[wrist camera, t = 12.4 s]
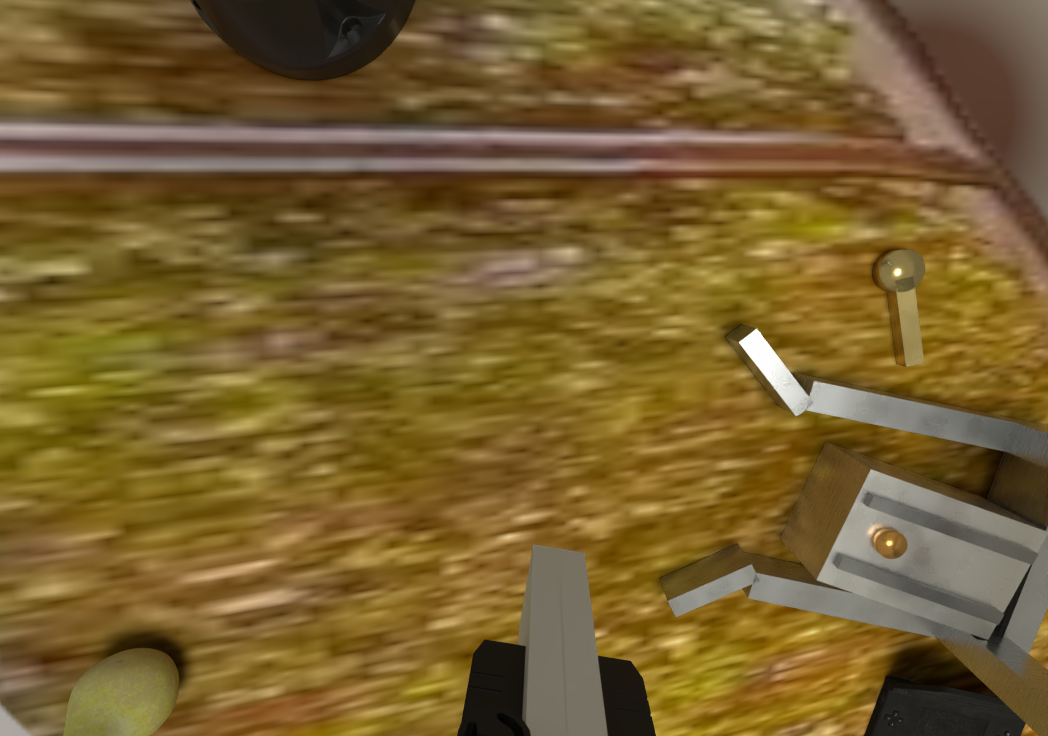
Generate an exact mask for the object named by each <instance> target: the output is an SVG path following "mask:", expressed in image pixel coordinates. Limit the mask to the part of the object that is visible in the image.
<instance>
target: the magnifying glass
mask: <svg viewBox="0 0 1048 736" xmlns="http://www.w3.org/2000/svg"><path fill="white" fill-rule="evenodd" d="M924 273H925V264H924V261H923V259H922V257H921V256H920V255H919V254H918V253H917V252H915V251H912V250H907V249H904V250H891V251H887V252H885V253H884V254H882V255H881V256H880V257H879V258H878V259H877V260H876V262H875V263H874V266H873V269H872V277H873V280H874V282H875V284H876V285H877V286H878V287H879V288H880V289H882V290H885V291H887V298H888V305H889V313H890V320H891V328H892V335H893V343H894V351H895V358H896V364H897V365H901V366H905V367H908V366H913V365H917V364H922V363H924V357H923V349H922V341H921V333H920V325H919V317H918V309H917V301H916V293H915V287H916V286H917V285H918V284H919V283H920V282H921V280H922V279H923V276H924Z"/></svg>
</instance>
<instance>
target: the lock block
mask: <svg viewBox="0 0 1048 736" xmlns="http://www.w3.org/2000/svg"><path fill="white" fill-rule="evenodd" d="M1047 535H1048V532H1047V531H1045V530H1043V529H1041V528H1040V527H1038V526H1036V525H1034V524H1032V523H1030V522H1028V521H1026V520H1024V519H1022V518H1020V517H1019V516H1017V515H1015V514H1013V513H1011V512H1009V511H1007V510H1005V509H1003V508H1001V507H999V506H998V505H996V504H994V503H992V502H990V501H988V500H986V499H984V498H982V497H980V496H978V495H975V494H972V493H970V492H967V491H964V490H961V489H958V488H956V487H953V486H950V485H947V484H944V483H941V482H939V481H936V480H933V479H930V478H927V477H925V476H922V475H919V474H916V473H913V472H910V471H908V470H905V469H902V468H899V467H896V466H894V465H891V464H888V463H885V462H882V461H879V460H877V459H874V458H871V457H868V456H865V455H862V454H860V453H857V452H854V451H851V450H848V449H846V448H843V447H840V446H837V445H834V444H831V443H829V442H825V444H824V446H823V448H822V450H821V452H820V454H819V457H818V459H817V461H816V463H815V465H814V467H813V469H812V471H811V474H810V476H809V478H808V480H807V482H806V484H805V486H804V488H803V490H802V493H801V495H800V497H799V499H798V501H797V503H796V505H795V507H794V510H793V512H792V514H791V516H790V518H789V520H788V522H787V524H786V527H785V529H784V531H783V533H782V535H781V537H780V539H781V540H782V541H783V542H784V543H785V544H786V546H787V547H788V548H789V549H790V550H791V551H792V552H793V554H794V555H795V556H796V557H797V558H798V559H799V560H800V562H801V563H802V564H803V565H804V566H805V567H806V569H807V570H808V571H809V572H810V573H811V574H812V575H813V577H814V578H815V579H816V580H818V581H821V582H823V583H826V584H829V585H832V586H835V587H838V588H841V589H843V590H846V591H849V592H852V593H855V594H858V595H861V596H864V597H866V598H869V599H872V600H875V601H878V602H881V603H884V604H886V605H889V606H892V607H895V608H898V609H901V610H904V611H907V612H909V613H912V614H915V615H918V616H921V617H924V618H927V619H929V620H932V621H935V622H938V623H941V624H944V625H947V626H950V627H952V628H955V629H958V630H961V631H964V632H967V633H970V634H972V635H975V636H978V637H981V638H984V639H987V640H988V639H989V638H990V636H991V634H992V632H993V630H994V629H995V627H996V625H999V623H1000V622H1001V620H1002V618H1003V616H1004V615H1005V614H1004V611H1005V609H1006V607H1007V606H1008V604H1009V602H1010V600H1011V599H1012V597H1013V595H1014V593H1015V592H1016V590H1017V588H1018V586H1019V584H1020V583H1021V581H1022V579H1023V577H1024V576H1025V574H1026V572H1027V570H1028V569H1029V567H1030V565H1033V563H1034V562H1035V560H1036V558H1037V556H1038V551H1039V549H1040V547H1041V545H1042V544H1043V542H1044V540H1045V538H1046V537H1047Z"/></svg>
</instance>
